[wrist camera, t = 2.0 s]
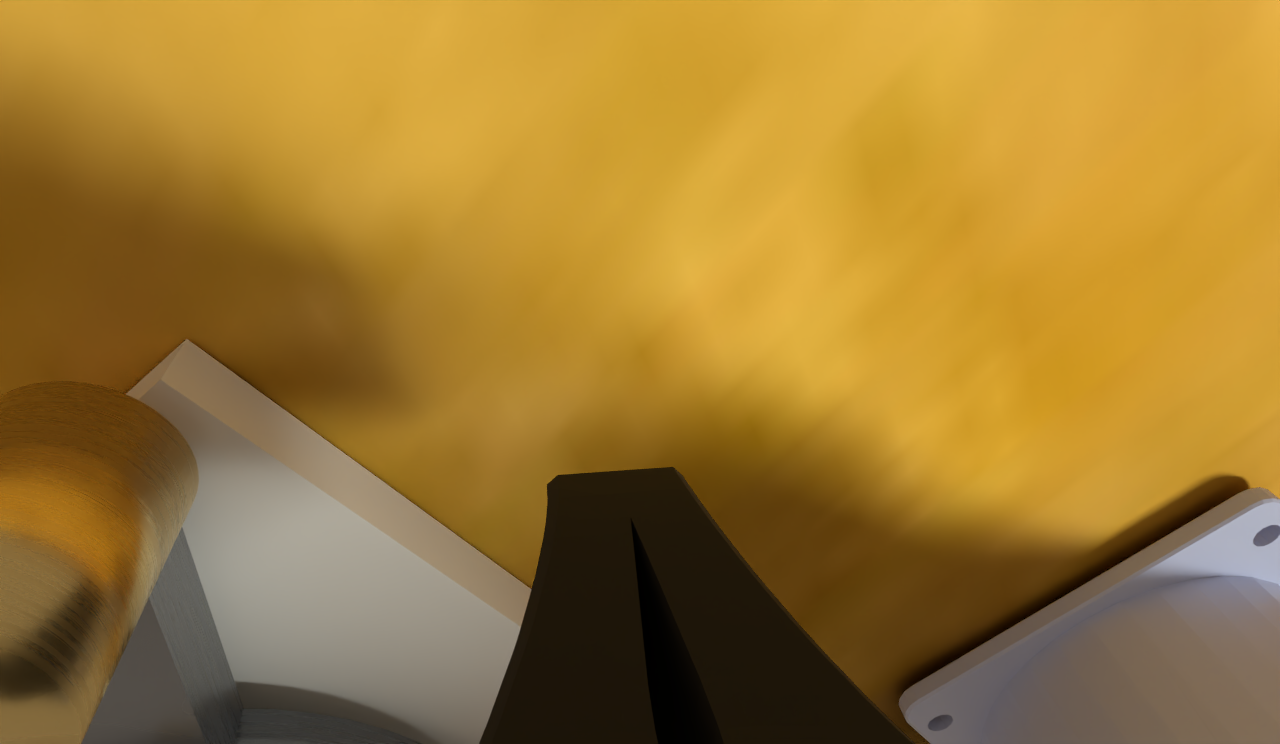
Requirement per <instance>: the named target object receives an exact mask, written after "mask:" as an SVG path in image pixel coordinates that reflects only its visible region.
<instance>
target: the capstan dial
mask: <svg viewBox="0 0 1280 744" xmlns="http://www.w3.org/2000/svg"><path fill="white" fill-rule="evenodd" d="M198 484H199V473H198V467H197V462H196V459H195V457H194V454H193V452H192V449H191V448H190V446H189V444H188V443H187V441H186V439H185V438H184V437H183V436H182V434H181V433H180V432H179V430H178V429H177V428H176V427H175V426H174V425H173V424H172V423H171V422H170V421H169V420H167V419H166V418H165V417H164V416H162V415H161V414H160V413H159V412H157V411H156V410H154V409H153V408H151V407H150V406H148V405H146V404H145V403H143V402H141V401H139V400H137V399H135V398H133V397H131V396H129V395H126V394H124V393H121V392H118V391H116V390H112V389H109V388H106V387H102V386H98V385H92V384H87V383H79V382H62V381H54V382H44V383H36V384H32V385H27V386H23V387H20V388H17V389H15V390H12V391H10V392H8V393H6V394H4V395H2V396H0V744H421V743H420V742H418V741H415V740H412V739H410V738H407V737H404V736H402V735H399V734H397V733H394V732H391V731H389V730H386V729H383V728H379V727H375V726H372V725H368V724H364V723H361V722H357V721H353V720H349V719H344V718H338V717H332V716H327V715H321V714H316V713H309V712H298V711H288V710H278V709H250V708H243V705H242V702H241V699H240V696H239V693H238V690H237V687H236V684H235V681H234V678H233V675H232V672H231V669H230V666H229V664H228V661H227V658H226V655H225V652H224V649H223V646H222V643H221V640H220V637H219V634H218V631H217V628H216V625H215V622H214V619H213V616H212V613H211V610H210V607H209V605H208V602H207V599H206V596H205V593H204V590H203V587H202V584H201V581H200V578H199V575H198V572H197V569H196V566H195V563H194V560H193V557H192V554H191V551H190V548H189V546H188V543H187V540H186V537H185V534H184V531H183V528H182V526H183V523H184V521H185V519H186V517H187V515H188V513H189V510H190V508H191V506H192V504H193V502H194V500H195V497H196V494H197V491H198Z"/></svg>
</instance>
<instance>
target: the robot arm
mask: <svg viewBox="0 0 1280 744" xmlns="http://www.w3.org/2000/svg"><path fill="white" fill-rule="evenodd" d="M547 496H548V506H547V517H546V525H545V532H544V538H543V543H542V548H541V553H540V557H539V562H538V567H537V571H536V575H535V579H534V582H533V586H532V590H531V593H530V597H529V600H528V604H527V607H526V611H525V614H524V618H523V621H522V625H521V628H520V632H519V635H518V638H517V641H516V644H515V647H514V650H513V653H512V656H511V659H510V662H509V664H508V667H507V670H506V673H505V675H504V678H503V681H502V684H501V686H500V689H499V692H498V695H497V697H496V700H495V703H494V706H493V709H492V711H491V714H490V717H489V720H488V722H487V725H486V727H485V730H484V733H483V735H482V737H481V740H480V742H479V744H915V743H914V742H913V741H912V740H911V739H910V738H909V737H908V736H907V735H905V734H904V733H903V732H902V731H901V730H900V729H899V728H898V727H897V726H896V725H895V724H894V723H893V722H892V721H891V720H890V719H889V718H888V717H887V716H886V715H885V714H884V713H883V712H882V711H881V710H880V709H879V708H878V707H877V706H876V705H875V704H874V703H873V702H872V701H871V700H870V699H869V698H868V697H867V696H866V695H865V694H864V693H863V692H862V691H861V690H860V689H859V688H858V687H857V686H856V685H855V684H854V683H853V682H852V681H851V680H850V679H849V678H848V677H847V675H846V674H845V673H844V672H843V671H842V670H841V669H840V668H839V667H838V666H837V665H836V664H835V663H834V662H833V661H832V660H831V659H830V658H829V657H828V656H827V655H826V653H825V652H824V651H823V650H822V649H821V648H820V647H819V646H818V645H817V644H816V643H815V641H814V640H813V639H812V638H811V637H810V636H809V635H808V634H807V633H806V631H805V630H804V629H803V628H802V627H801V626H800V625H799V624H798V623H797V621H796V620H795V619H794V618H793V617H792V616H791V614H790V613H789V612H788V611H787V610H786V609H785V607H784V606H783V605H782V604H781V603H780V602H779V600H778V599H777V598H776V597H775V596H774V595H773V593H772V592H771V591H770V590H769V589H768V587H767V586H766V585H765V584H764V583H763V582H762V580H761V579H760V578H759V577H758V576H757V575H756V573H755V572H754V571H753V570H752V568H751V567H750V566H749V565H748V563H747V562H746V561H745V560H744V558H743V557H742V556H741V555H740V553H739V552H738V551H737V550H736V548H735V547H734V546H733V544H732V543H731V542H730V540H729V539H728V538H727V537H726V535H725V534H724V533H723V531H722V530H721V529H720V528H719V526H718V525H717V524H716V522H715V521H714V519H713V518H712V517H711V515H710V514H709V513H708V511H707V510H706V509H705V507H704V506H703V504H702V503H701V502H700V500H699V499H698V497H697V496H696V495H695V493H694V492H693V490H692V489H691V487H690V486H689V485H688V483H687V482H686V480H685V479H684V477H683V476H682V475H681V474H680V473H679V472H678V471H677V470H676V469H675V468H673V467H667V468H653V469H638V470H624V471H610V472H596V473H581V474H567V475H558V476H556V477H555V478H554V479H553V480H552V481H551V482H550V483H548V484H547ZM899 707H900V709H901V711H902V713H903V715H904V718H905V719H906V721H907V723H908V724H909V725H910V726H911V727H913V728H914V729H915V730H916V731H917V732H918V733H919V734H920V735H921V736H922V737H924V738H925V739H926V740H927V741H928V742H929V743H930V744H1280V499H1279V498H1277V497H1276V496H1275V495H1274V494H1273V493H1271V492H1270V491H1269V490H1268V489H1264V488H1252V489H1247V490H1244V491H1242V492H1240V493H1238V494H1236V495H1234V496H1233V497H1231V498H1229V499H1227V500H1226V501H1224V502H1222V503H1221V504H1219V505H1217V506H1216V507H1214V508H1212V509H1211V510H1209V511H1207V512H1205V513H1204V514H1202V515H1200V516H1199V517H1197V518H1195V519H1194V520H1192V521H1190V522H1188V523H1187V524H1185V525H1183V526H1182V527H1180V528H1178V529H1177V530H1175V531H1173V532H1172V533H1170V534H1168V535H1166V536H1165V537H1163V538H1161V539H1160V540H1158V541H1156V542H1155V543H1153V544H1151V545H1149V546H1148V547H1146V548H1144V549H1143V550H1141V551H1139V552H1138V553H1136V554H1134V555H1133V556H1131V557H1129V558H1127V559H1126V560H1124V561H1122V562H1121V563H1119V564H1117V565H1116V566H1114V567H1112V568H1111V569H1109V570H1107V571H1105V572H1104V573H1102V574H1100V575H1099V576H1097V577H1095V578H1094V579H1092V580H1090V581H1088V582H1087V583H1085V584H1083V585H1082V586H1080V587H1078V588H1077V589H1075V590H1073V591H1072V592H1070V593H1068V594H1066V595H1065V596H1063V597H1061V598H1060V599H1058V600H1056V601H1055V602H1053V603H1051V604H1049V605H1048V606H1046V607H1044V608H1043V609H1041V610H1039V611H1038V612H1036V613H1034V614H1033V615H1031V616H1029V617H1027V618H1026V619H1024V620H1022V621H1021V622H1019V623H1017V624H1016V625H1014V626H1012V627H1011V628H1009V629H1007V630H1005V631H1004V632H1002V633H1000V634H999V635H997V636H995V637H994V638H992V639H990V640H988V641H987V642H985V643H983V644H982V645H980V646H978V647H977V648H975V649H973V650H972V651H970V652H968V653H966V654H965V655H963V656H961V657H960V658H958V659H956V660H955V661H953V662H951V663H949V664H948V665H946V666H944V667H943V668H941V669H939V670H938V671H936V672H934V673H933V674H931V675H929V676H927V677H926V678H924V679H922V680H921V681H919V682H917V683H916V684H914V685H912V686H911V687H909V688H908V689H907V690H905V691H904V693H903V694H902V696H901V697H900V699H899Z"/></svg>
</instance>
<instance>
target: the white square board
mask: <svg viewBox="0 0 1280 744" xmlns="http://www.w3.org/2000/svg"><path fill="white" fill-rule="evenodd" d="M126 395H129V396H131V397H133V398H135V399H137V400H139V401H141V402H143V403H145V404H146V405H148V406H150V407H151V408H153V409H154V410H156V411H157V412H159V413H160V414H161V415H162V416H164V417H165V418H166V419H167V420H169V421H170V422H171V423H172V424H173V425H174V426H175V427H176V428H177V429H178V430H179V432H180V433H181V434H182V436H183V437H184V438H185V439H186V441H187V443H188V444H189V446H190V448H191V449H192V452H193V454H194V457H195V459H196V462H197V467H198V473H199V484H198V491H197V494H196V497H195V500H194V502H193V504H192V506H191V508H190V510H189V513H188V515H187V517H186V519H185V521H184V523H183V526H182V528H183V531H184V534H185V537H186V540H187V543H188V546H189V548H190V551H191V554H192V557H193V560H194V563H195V566H196V569H197V572H198V575H199V578H200V581H201V584H202V587H203V590H204V593H205V596H206V599H207V602H208V605H209V607H210V610H211V613H212V616H213V619H214V622H215V625H216V628H217V631H218V634H219V637H220V640H221V643H222V646H223V649H224V652H225V655H226V658H227V661H228V664H229V666H230V669H231V672H232V675H233V678H234V681H235V684H236V687H237V690H238V693H239V696H240V699H241V702H242V705H243V708H250V709H278V710H288V711H298V712H309V713H316V714H321V715H327V716H332V717H338V718H344V719H349V720H353V721H357V722H361V723H364V724H368V725H372V726H375V727H379V728H383V729H386V730H389V731H391V732H394V733H397V734H399V735H402V736H404V737H407V738H410V739H412V740H415V741H418V742H420V743H421V744H479V742H480V740H481V737H482V735H483V733H484V730H485V727H486V725H487V722H488V720H489V717H490V714H491V711H492V709H493V706H494V703H495V700H496V697H497V695H498V692H499V689H500V686H501V684H502V681H503V678H504V675H505V673H506V670H507V667H508V664H509V662H510V659H511V656H512V653H513V650H514V647H515V644H516V641H517V638H518V635H519V632H520V628H521V625H522V621H523V618H524V614H525V611H526V607H527V604H528V600H529V597H530V593H531V590H532V589H530V588H529V587H528V586H526V585H525V584H523V583H522V582H521V581H519V580H518V579H517V578H515V577H514V576H512V575H511V574H510V573H508V572H507V571H506V570H504V569H503V568H501V567H500V566H499V565H497V564H496V563H495V562H493V561H492V560H490V559H489V558H488V557H486V556H485V555H484V554H482V553H481V552H479V551H478V550H477V549H475V548H474V547H473V546H471V545H470V544H468V543H467V542H466V541H464V540H463V539H462V538H460V537H459V536H457V535H456V534H455V533H453V532H452V531H451V530H449V529H448V528H446V527H445V526H444V525H442V524H441V523H440V522H438V521H437V520H435V519H434V518H433V517H431V516H430V515H429V514H427V513H426V512H424V511H423V510H422V509H420V508H419V507H418V506H416V505H415V504H413V503H412V502H411V501H409V500H408V499H406V498H405V497H404V496H402V495H401V494H400V493H398V492H397V491H395V490H394V489H393V488H391V487H390V486H389V485H387V484H386V483H384V482H383V481H382V480H380V479H379V478H378V477H376V476H375V475H373V474H372V473H371V472H369V471H368V470H367V469H365V468H364V467H362V466H361V465H360V464H358V463H357V462H356V461H354V460H353V459H351V458H350V457H349V456H347V455H346V454H345V453H343V452H342V451H340V450H339V449H338V448H336V447H335V446H334V445H332V444H331V443H329V442H328V441H327V440H325V439H324V438H323V437H321V436H320V435H318V434H317V433H316V432H314V431H313V430H312V429H310V428H309V427H307V426H306V425H305V424H303V423H302V422H301V421H299V420H298V419H296V418H295V417H294V416H292V415H291V414H290V413H288V412H287V411H285V410H284V409H283V408H281V407H280V406H279V405H277V404H276V403H274V402H273V401H272V400H270V399H269V398H268V397H266V396H265V395H263V394H262V393H261V392H259V391H258V390H257V389H255V388H254V387H252V386H251V385H250V384H248V383H247V382H246V381H244V380H243V379H241V378H240V377H239V376H237V375H236V374H235V373H233V372H232V371H230V370H229V369H228V368H226V367H225V366H224V365H222V364H221V363H219V362H218V361H217V360H215V359H214V358H213V357H211V356H210V355H208V354H207V353H206V352H204V351H203V350H202V349H200V348H199V347H197V346H196V345H195V344H193V343H192V342H191V341H189V340H188V339H186V340H185V341H184V342H182V343H181V344H180V345H179V346H178V347H177V348H176V349H175V350H174V351H173V352H171V353H170V354H169V355H168V356H167V357H166V358H165V359H164V360H163V361H162V362H160V363H159V364H158V365H157V366H156V367H155V368H154V369H153V370H152V371H151V372H150V373H148V374H147V375H146V376H145V377H144V378H143V379H142V380H141V381H140V382H139V383H137V384H136V385H135V386H134V387H133V388H132V389H131V390H130V391H129V392H128V393H126Z"/></svg>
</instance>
